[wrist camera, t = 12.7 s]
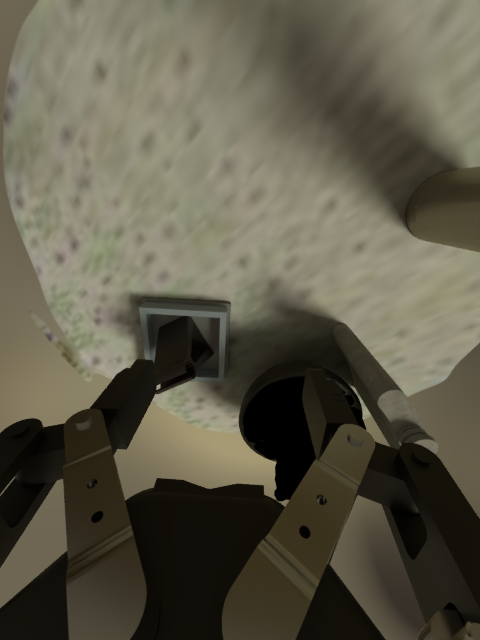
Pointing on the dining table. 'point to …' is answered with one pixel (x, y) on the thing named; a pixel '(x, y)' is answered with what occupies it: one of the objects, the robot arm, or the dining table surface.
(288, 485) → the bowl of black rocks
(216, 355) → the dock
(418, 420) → the hip flask
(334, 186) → the dining table surface
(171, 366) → the phone stand
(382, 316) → the dining table surface
